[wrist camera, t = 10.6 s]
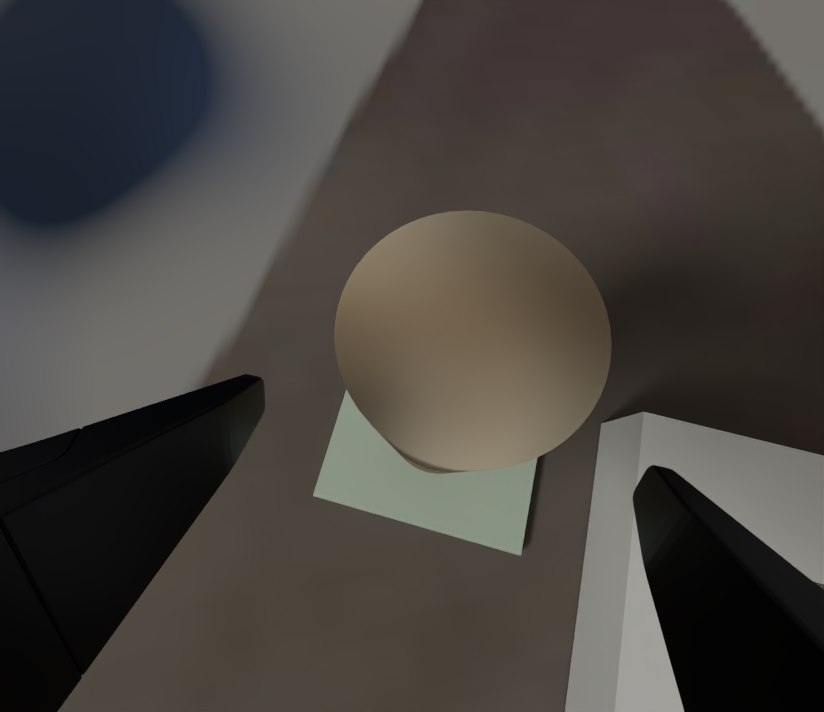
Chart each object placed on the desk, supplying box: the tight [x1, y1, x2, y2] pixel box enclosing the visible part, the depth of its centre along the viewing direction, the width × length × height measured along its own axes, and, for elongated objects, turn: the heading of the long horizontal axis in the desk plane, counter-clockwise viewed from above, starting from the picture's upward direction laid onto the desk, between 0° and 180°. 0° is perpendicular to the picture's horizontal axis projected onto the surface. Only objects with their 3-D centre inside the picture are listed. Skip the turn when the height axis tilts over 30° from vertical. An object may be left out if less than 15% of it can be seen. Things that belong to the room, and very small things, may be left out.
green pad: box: [313, 390, 537, 556], centre depth 20 cm, size 10×10×1 cm
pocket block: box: [565, 412, 824, 712], centre depth 15 cm, size 16×16×4 cm
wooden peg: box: [335, 211, 612, 474], centre depth 13 cm, size 5×5×13 cm
